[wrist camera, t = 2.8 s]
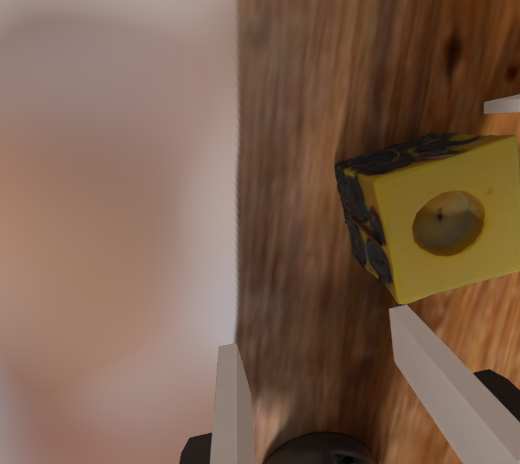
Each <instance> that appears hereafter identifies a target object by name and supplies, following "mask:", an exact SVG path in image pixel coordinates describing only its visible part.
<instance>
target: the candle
mask: <svg viewBox="0 0 520 464" xmlns="http://www.w3.org/2000/svg"><path fill="white" fill-rule="evenodd" d="M335 176H336V180H337V182H338V186H337V188H338V191H339V194H340V195H341V202H342V207H343V208H344V216H345V219H346V221H345V223H347V225H348V230H349V233H350V239H351V243H352V246H353V256H354V257H355V259H356V260H357V261H359V263H360V264H361V266H362V267H364V268H365V269H367V270H368V271H370V272H371V273H372V274H373V275H374V276H376V277H377V278H378V279H379V284H381V285H383V286H385V287H387V288H388V289H389V291H390V292H391V294H392V296H393V297H394V299H395V300H396V301H397V303H398V304H409V303H412V302H415V301H417V300H420V299H422V298H425V297H427V296H430V295H432V294H436V293H441V292H445V291H449V290H452V289H455V288H458V287H462V286H465V285H469V284H472V283H476V282H480V281H484V280H488V279H492V278H496V277H500V276H504V275H507V274H511V273H515V272H519V271H520V168H519V149H518V142H517V135H501V136H496V135H489V136H483V135H469V134H460V133H456V134H453V133H444V134H442V135H438V134H428V135H427V136H425V137H421V138H419V139H413V140H411V141H408V142H407V143H402V144H399V145H398V144H395V145H393V146H390V147H387V148H385V149H382V150H379V151H375V152H371V153H368V154H363V155H361V156H360V157H358V158H354V159H349V160H347V161H339V162H338V163H337V164H335Z"/></svg>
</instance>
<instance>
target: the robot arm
mask: <svg viewBox="0 0 520 464" xmlns="http://www.w3.org/2000/svg"><path fill="white" fill-rule="evenodd" d="M389 314H390V324H391V334H392V344H393V353H394V362H395V363H396V365H397V366H398V368H399V369H400V371H401V372H402V374H403V375H404V377H405V378H406V380H407V381H408V383H409V384H410V386H411V387H412V389H413V390H414V392H415V393H416V395H417V396H418V398H419V399H420V401H421V402H422V404H423V405H424V407H425V408H426V409H427V411H428V412H429V414H430V415H431V417H432V418H433V420H434V421H435V423H436V424H437V426H438V427H439V429H440V430H441V432H442V433H443V435H444V436H445V438H446V439H447V441H448V442H449V444H450V445H451V447H452V448H453V450H454V451H455V453H456V454H457V456H458V457H459V458H460V460H461V461H462V463H463V464H520V390H519V389H518V388H517V387H516V386H515V385H513V384H512V383H511V382H510V381H509V380H508V379H506V378H505V377H503V376H501V375H499V374H497V373H495V372H494V371H492V370H490V369H488V370H484V371H479V372H475V373H472V372H471V371H470V370H469V369H468V368H467V367H466V366H465V365H464V364H463V363H462V362H461V361H460V360H459V359H458V358H457V357H456V355H455V354H454V353H453V352H452V351H451V350H450V349H449V348H448V347H447V346H446V345H445V344H444V343H443V342H442V341H441V340H440V339H439V338H438V337H437V336H436V335H435V334H434V333H433V332H432V330H431V329H430V328H429V327H428V326H427V325H426V324H425V323H424V322H423V321H422V320H421V319H420V318H419V317H418V316H417V315H416V314H415V313H414V312H413V311H412V310H411V309H410V308H409V307H408V305H403V306H399V307H394V308H390V309H389ZM179 464H255V456H254V438H253V420H252V402H251V392H250V388H249V385H248V381H247V378H246V374H245V371H244V367H243V363H242V360H241V356H240V353H239V349H238V345H237V343H234V344H230V345H226V346H221V347H219V353H218V365H217V378H216V392H215V404H214V417H213V429H212V433H208V434H204V435H199V436H195V437H191V438H189V440H188V442H187V444H186V445H185V447H184V449H183V451H182V453H181V457H180V463H179ZM265 464H376V463H375V461H374V459H373V456H372V454H371V453H370V451H369V450H368V449H367V448H366V447H365V446H364V445H363V444H362V443H360V442H359V441H357V440H355V439H353V438H351V437H348V436H345V435H341V434H336V433H316V434H310V435H306V436H302V437H299V438H297V439H294V440H292V441H290V442H288V443H286V444H284V445H283V446H281V447H280V448H279V449H277V450H276V451H275V452H274V453H273V454H272V455H271V456H270V457H269V458H268V460H267V461H266V463H265Z"/></svg>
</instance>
